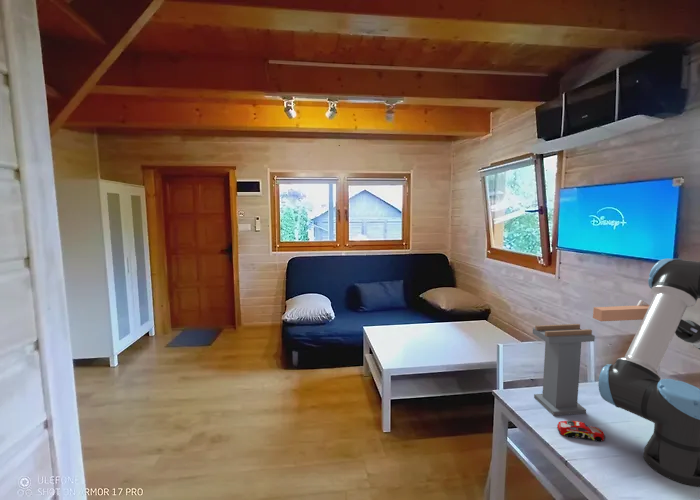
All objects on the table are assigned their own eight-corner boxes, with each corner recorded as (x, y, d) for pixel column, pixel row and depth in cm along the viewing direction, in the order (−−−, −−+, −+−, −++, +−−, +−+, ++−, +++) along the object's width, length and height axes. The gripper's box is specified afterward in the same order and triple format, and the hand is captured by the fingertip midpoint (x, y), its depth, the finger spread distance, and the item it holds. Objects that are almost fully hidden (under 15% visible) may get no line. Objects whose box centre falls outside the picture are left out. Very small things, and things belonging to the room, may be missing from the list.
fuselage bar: (659, 315, 140) (660, 304, 139) (669, 318, 136) (670, 307, 135) (592, 317, 138) (593, 307, 137) (601, 321, 134) (601, 310, 133)
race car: (601, 434, 122) (602, 422, 122) (607, 444, 117) (608, 432, 116) (555, 427, 126) (556, 415, 126) (559, 436, 121) (560, 425, 120)
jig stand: (569, 395, 145) (573, 321, 141) (591, 413, 133) (597, 332, 130) (527, 398, 144) (531, 323, 140) (546, 416, 132) (551, 334, 128)
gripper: (711, 351, 131) (659, 321, 128) (666, 334, 148) (620, 307, 145) (723, 333, 131) (672, 302, 128) (676, 317, 148) (630, 290, 145)
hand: (644, 305), depth 136 cm, fingers closed on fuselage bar, 4 cm apart
